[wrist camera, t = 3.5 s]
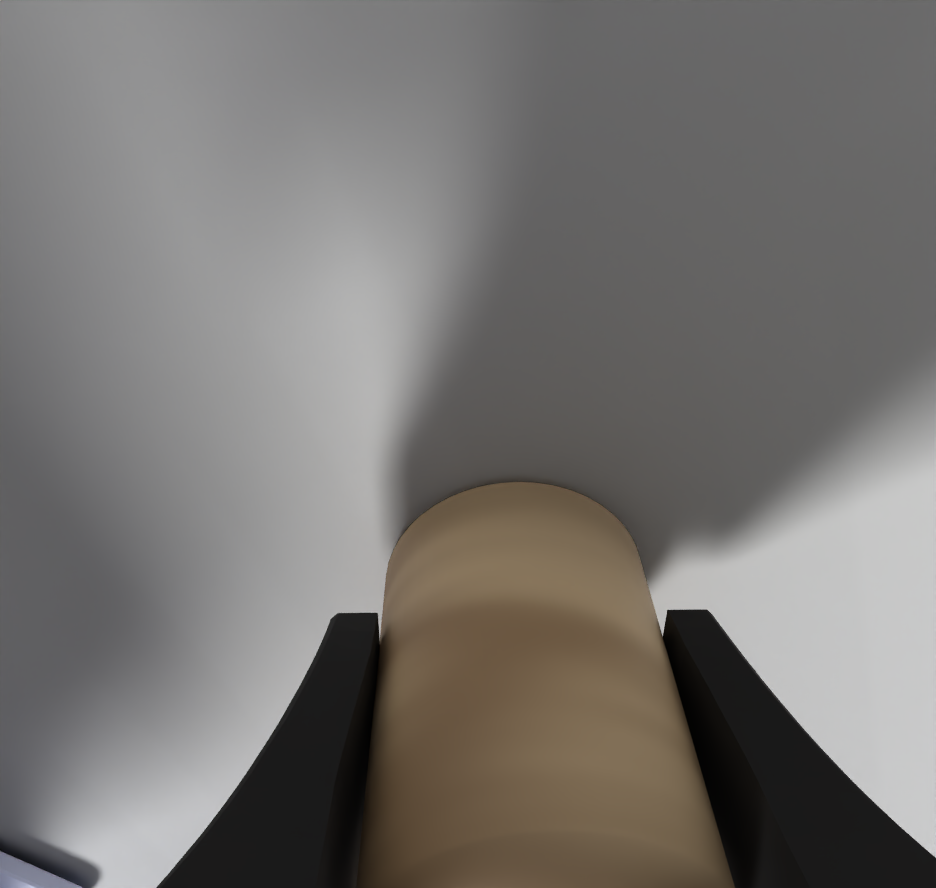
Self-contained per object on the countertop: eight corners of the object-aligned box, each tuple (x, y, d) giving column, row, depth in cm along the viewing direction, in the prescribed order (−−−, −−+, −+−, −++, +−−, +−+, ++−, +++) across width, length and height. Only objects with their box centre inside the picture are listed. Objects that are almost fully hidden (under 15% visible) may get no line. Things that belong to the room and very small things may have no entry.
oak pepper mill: (508, 708, 16) (534, 1075, 11) (332, 588, 15) (270, 956, 10) (693, 585, 15) (822, 947, 10) (520, 432, 13) (565, 776, 8)
